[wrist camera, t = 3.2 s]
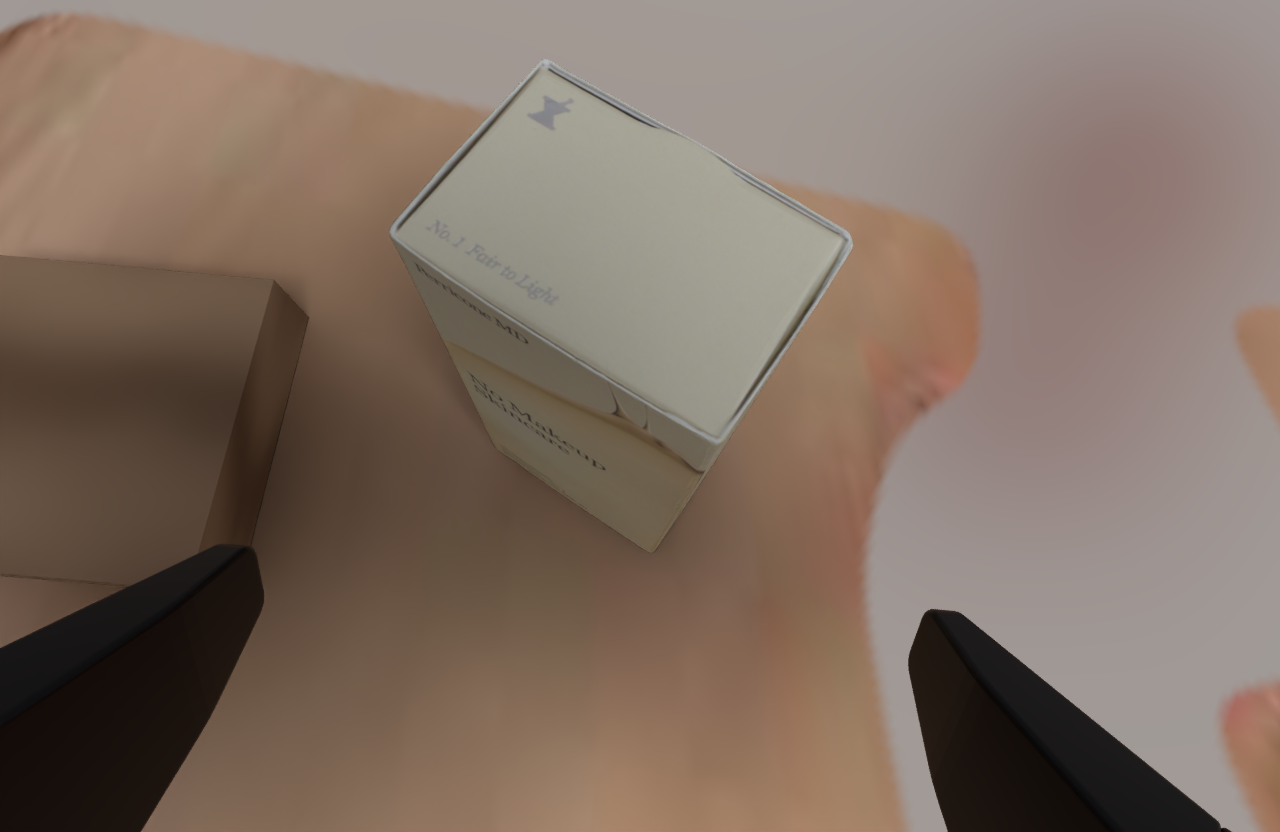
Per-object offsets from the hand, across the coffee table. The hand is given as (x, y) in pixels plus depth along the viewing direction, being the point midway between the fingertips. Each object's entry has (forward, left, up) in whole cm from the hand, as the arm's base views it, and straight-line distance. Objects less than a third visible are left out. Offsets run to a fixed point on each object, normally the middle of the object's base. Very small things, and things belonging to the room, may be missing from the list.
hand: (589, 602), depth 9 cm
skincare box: (+5, 0, -12) cm, 13 cm away
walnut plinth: (+4, +15, -12) cm, 20 cm away
